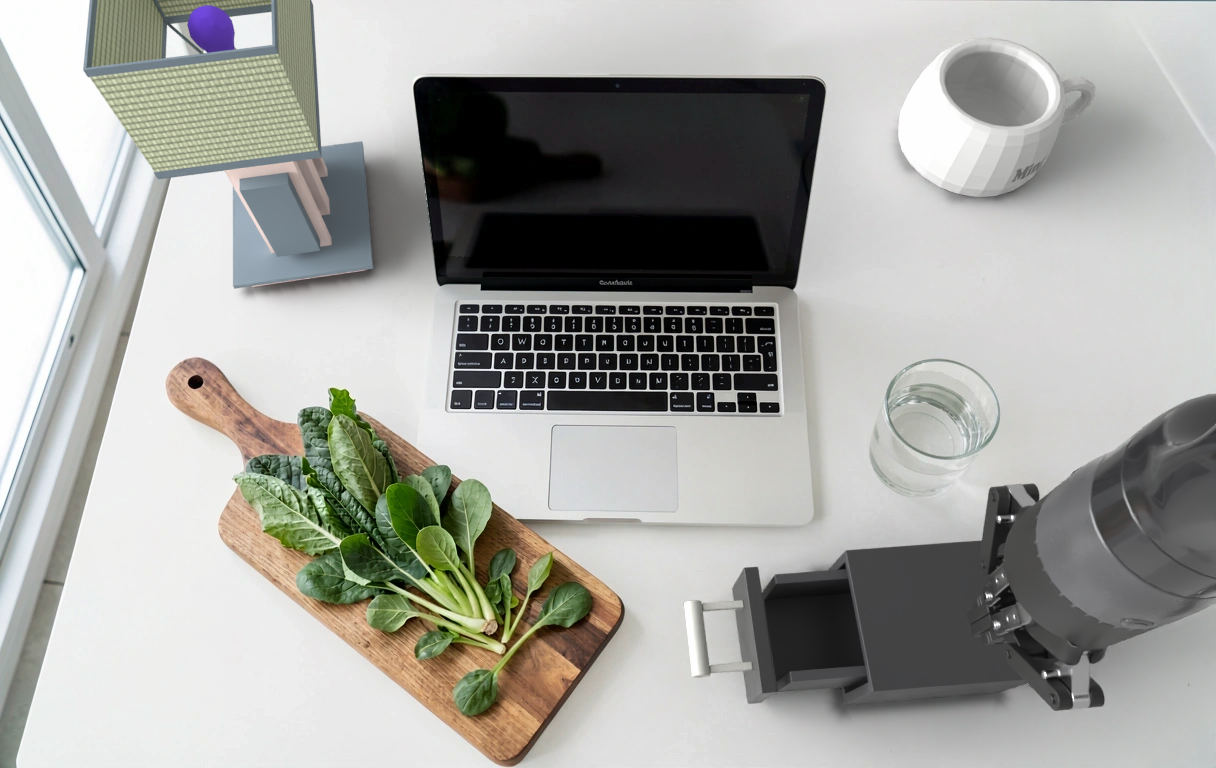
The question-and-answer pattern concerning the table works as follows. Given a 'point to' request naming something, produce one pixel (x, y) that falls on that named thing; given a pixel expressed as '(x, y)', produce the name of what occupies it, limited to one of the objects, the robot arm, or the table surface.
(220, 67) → the desk lamp
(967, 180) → the mug
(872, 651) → the grey square sleeve
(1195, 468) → the robot arm
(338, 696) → the table surface
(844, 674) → the drawer
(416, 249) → the table surface
